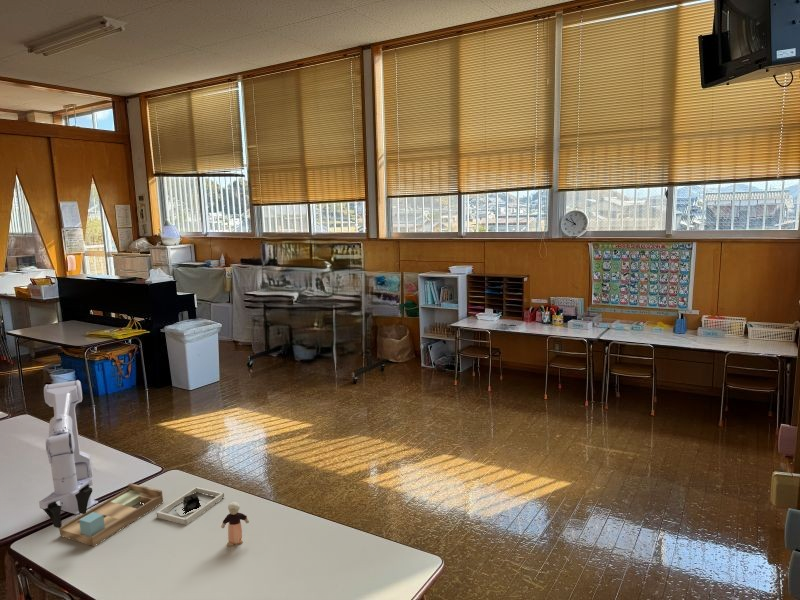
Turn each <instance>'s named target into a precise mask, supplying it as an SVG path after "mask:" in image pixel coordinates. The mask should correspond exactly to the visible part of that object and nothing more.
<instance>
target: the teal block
mask: <svg viewBox="0 0 800 600" xmlns="http://www.w3.org/2000/svg"><path fill="white" fill-rule="evenodd" d="M79 523H80V530H81V534H84V535H87V536H93V535H95V534H96V533H98V532H100V531H101V530H103V529H104V528H105V525H104V517H103V515H102V514H99V513H95V512H92V513H90V514H88V515H87V516H85V517H83V518H81V519H79Z"/></svg>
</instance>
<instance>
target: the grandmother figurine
mask: <svg viewBox="0 0 800 600" xmlns="http://www.w3.org/2000/svg"><path fill="white" fill-rule="evenodd" d="M240 508H241V506H240V504H239V503H238V502H236V501H232V502H230V503H229V504H228V506H227V510H228V511H229V513H228V514H227V515H226V516H225V518H224V519H223V520H222V524H221V526H220V527H221V529H225V528H226V525H227V524H228V527H227V531H228V532H227V535H228V536H227V537H228V538H227V539H228V541H227V543H226V547H231V546H233V545H241V544H243V543H244V541H243V529H242V528H243V527H242V521H244V522H245V524H249V523H250V520H249V519H248V515H247V514H244V513H242V512H239V510H240ZM241 520H242V521H241Z"/></svg>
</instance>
